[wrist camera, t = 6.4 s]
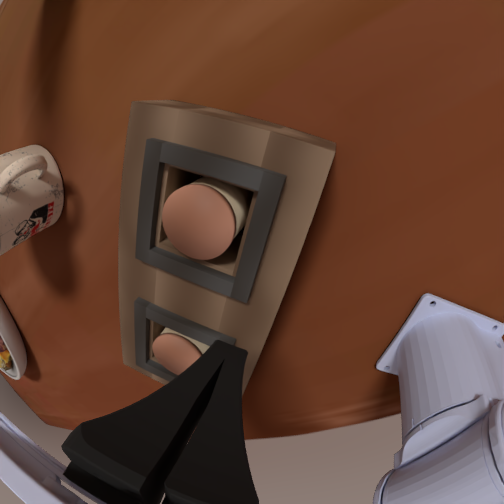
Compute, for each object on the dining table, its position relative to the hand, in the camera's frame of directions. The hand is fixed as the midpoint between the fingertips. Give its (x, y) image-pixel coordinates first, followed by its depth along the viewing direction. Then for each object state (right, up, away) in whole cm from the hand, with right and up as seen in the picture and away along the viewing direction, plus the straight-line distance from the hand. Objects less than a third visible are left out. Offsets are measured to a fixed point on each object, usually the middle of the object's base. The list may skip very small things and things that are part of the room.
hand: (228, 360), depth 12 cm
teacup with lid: (-19, +12, +12) cm, 26 cm away
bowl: (-53, -7, +33) cm, 63 cm away
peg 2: (-3, -1, +13) cm, 14 cm away
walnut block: (-2, +4, +11) cm, 11 cm away
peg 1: (-1, +8, +8) cm, 11 cm away
